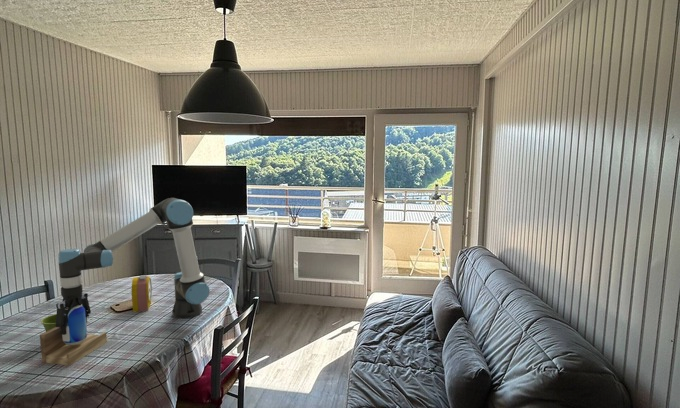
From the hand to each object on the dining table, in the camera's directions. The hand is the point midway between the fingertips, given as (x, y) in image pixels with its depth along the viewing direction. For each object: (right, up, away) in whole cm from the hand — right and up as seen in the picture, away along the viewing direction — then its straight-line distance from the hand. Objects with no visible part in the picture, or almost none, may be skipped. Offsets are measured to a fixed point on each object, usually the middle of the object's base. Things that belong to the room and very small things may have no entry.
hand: (75, 336), depth 165 cm
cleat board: (0, -7, +1) cm, 7 cm away
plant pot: (-14, -6, +10) cm, 19 cm away
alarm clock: (+3, -2, +51) cm, 51 cm away
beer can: (0, -3, 0) cm, 3 cm away
